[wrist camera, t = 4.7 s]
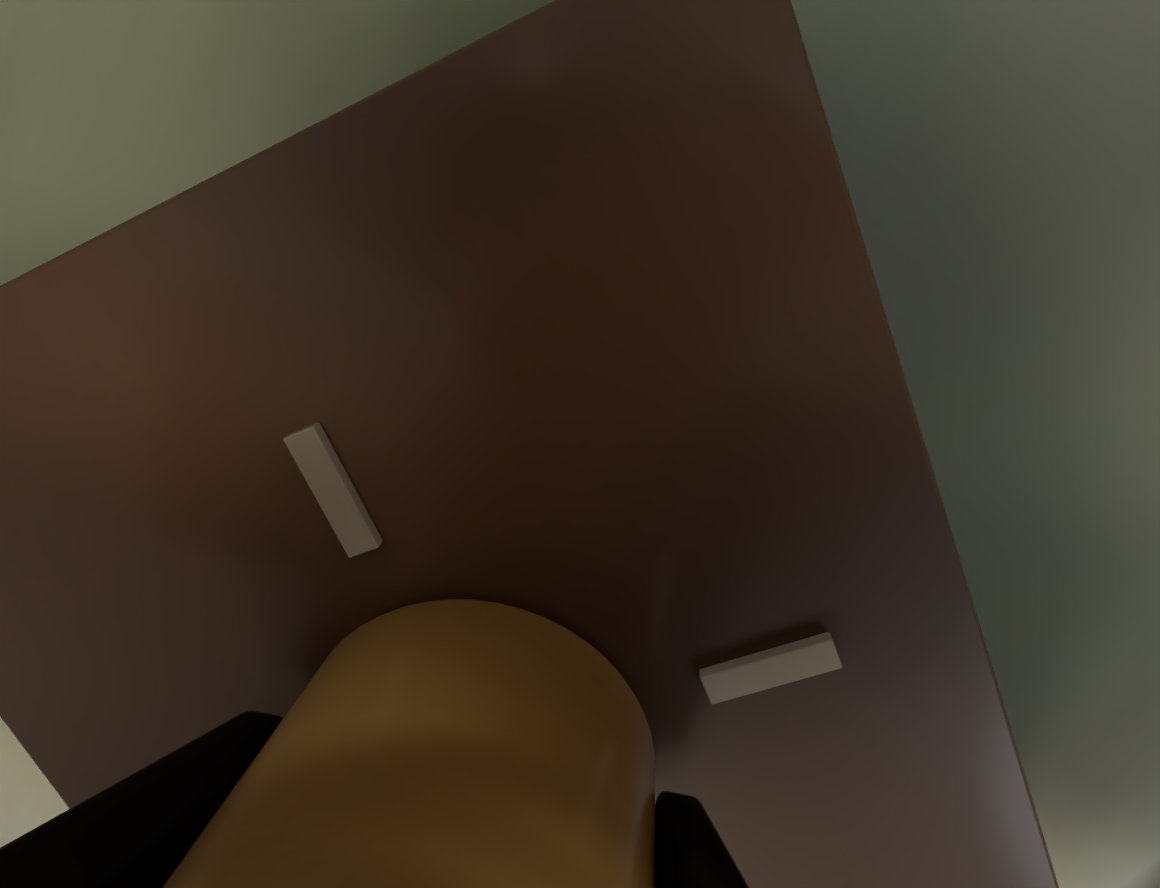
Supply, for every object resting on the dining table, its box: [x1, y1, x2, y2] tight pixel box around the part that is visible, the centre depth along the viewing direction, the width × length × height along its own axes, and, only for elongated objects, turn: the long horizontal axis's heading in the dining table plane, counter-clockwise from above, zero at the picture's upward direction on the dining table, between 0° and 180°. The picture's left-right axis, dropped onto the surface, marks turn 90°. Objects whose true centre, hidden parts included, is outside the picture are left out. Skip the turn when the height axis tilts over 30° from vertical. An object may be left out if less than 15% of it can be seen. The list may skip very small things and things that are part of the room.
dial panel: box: [0, 0, 1059, 888], centre depth 10 cm, size 13×11×3 cm
